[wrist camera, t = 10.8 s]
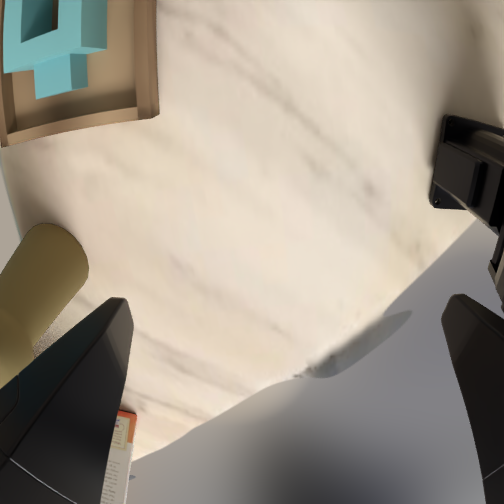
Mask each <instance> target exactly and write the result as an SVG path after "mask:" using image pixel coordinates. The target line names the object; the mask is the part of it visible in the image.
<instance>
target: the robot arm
mask: <svg viewBox="0 0 504 504" xmlns="http://www.w3.org/2000/svg"><path fill="white" fill-rule="evenodd" d="M450 119H451V124H450V125H449V120H450ZM503 135H504V129H502V128H498V127H495V126H492V125H488V124H485V123H482V122H478V121H474V120H471V119H467V118H463V117H459V116H455V115H451V114H446V115H445V116H444V117H443V120H442V129H441V136H440V143H439V147H438V154H437V160H436V166H435V171H434V177H433V185H432V190H431V194H430V200H429V202H430V204H431V205H432V206H433V207H434V208H439V209H458V210H468V211H469V212H470V213H472V214H473V215H474V216H475V217H476V218H478V219H479V220H480V221H481V222H483V223H484V224H485V225H486V226H487V227H488V228H490V229H491V230H492V231H493V232H494V233H495V234H496V235H498V236H499V238H498V241H497V244H496V248H495V251H494V254H493V258H492V260H490V263H489V266H488V270H489V273H490V275H491V277H492V279H493V282H494V284H495V286H496V290H497V292H498V294H499V296H500V299H501V301H502V305H501V309H502V311H503V313H504V136H503ZM437 198H438V201H437V202H435V201H436V199H437ZM441 322H442V326H443V330H444V334H445V337H446V341H447V345H448V349H449V352H450V357H451V360H452V364H453V368H454V371H455V374H456V377H457V380H458V383H459V386H460V390H461V393H462V396H463V399H464V403H465V406H466V410H467V413H468V417H469V421H470V424H471V429H472V432H473V437H474V441H475V445H476V449H477V454H478V459H479V464H480V469H481V474H482V479H483V487H484V494H485V501H486V504H504V319H503V318H501V317H500V316H498V315H496V314H495V313H493V312H492V311H490V310H489V309H487V308H486V307H484V306H483V305H481V304H480V303H478V302H476V301H475V300H473V299H471V298H470V297H468V296H467V295H465V294H454V295H452V296H451V297H450V299H449V301H448V303H447V305H446V308H445V310H444V312H443V314H442V318H441ZM133 329H134V324H133V319H132V315H131V312H130V308H129V305H128V302H127V300H126V299H125V298H119V297H111V298H109V299H108V300H107V301H105V302H104V303H103V304H102V305H100V306H99V307H98V308H97V309H95V310H94V311H93V312H92V313H90V314H89V315H88V316H87V317H85V318H84V319H83V320H82V321H80V322H79V323H78V324H77V325H75V326H74V327H73V328H72V329H70V330H69V331H68V332H67V333H66V334H64V335H63V336H62V337H61V338H59V339H58V340H57V341H56V342H55V343H53V344H52V345H51V346H50V347H49V348H47V349H46V350H45V351H44V352H43V353H41V354H40V355H39V356H38V357H37V358H36V359H34V360H33V361H32V362H31V363H30V364H29V365H27V366H26V367H25V368H24V369H23V370H22V371H20V372H19V374H18V375H16V376H15V377H13V378H12V379H11V380H10V381H9V382H8V383H7V384H5V385H4V386H3V387H2V388H1V389H0V504H100V502H101V496H102V490H103V484H104V478H105V472H106V467H107V462H108V457H109V452H110V447H111V442H112V437H113V432H114V428H115V423H116V419H117V415H118V410H119V406H120V402H121V398H122V394H123V390H124V385H125V381H126V375H127V369H128V362H129V355H130V348H131V342H132V336H133Z"/></svg>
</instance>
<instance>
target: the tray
mask: <svg viewBox="0 0 504 504" xmlns="http://www.w3.org/2000/svg"><path fill="white" fill-rule="evenodd" d="M58 8H59V0H53V6H52V31H54V30H57V29H58ZM4 12H5V0H0V142H1V147H2V148H3V147H6V146H10V145H13V144H17V143H21V142H24V141H28V140H32V139H36V138H40V137H45V136H49V135H53V134H58V133H63V132H68V131H72V130H78V129H83V128H88V127H94V126H100V125H106V124H113V123H120V122H127V121H134V120H142V119H151V118H153V117H155V116H157V115H159V98H158V78H157V48H156V0H107V50H102V51H98V52H94V53H90V54H87V77H88V87H86V88H81V89H77V90H73V91H69V92H65V93H61V94H57V95H53V96H49V97H45V98H40V99H36V94H35V81H34V70H27V71H19V72H11V73H4V66H3V31H4Z"/></svg>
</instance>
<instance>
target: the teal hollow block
mask: <svg viewBox="0 0 504 504" xmlns="http://www.w3.org/2000/svg"><path fill="white" fill-rule="evenodd" d="M52 6H53V0H5V12H4V31H3V66H4V73H11V72H19V71H27V70H34V81H35V94H36V99H40V98H45V97H49V96H53V95H57V94H61V93H65V92H69V91H73V90H77V89H81V88H86V87H88V77H87V54H90V53H94V52H98V51H102V50H107V0H59V8H58V29H57V30H54V31H52Z"/></svg>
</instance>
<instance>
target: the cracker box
mask: <svg viewBox="0 0 504 504" xmlns="http://www.w3.org/2000/svg"><path fill="white" fill-rule="evenodd" d="M136 422H137V415H135V414H132V413H128V412H124V411H120V410H118V415H117V419H116V423H115V428H114V432H113V437H112V442H111V447H110V452H109V457H108V462H107V467H106V472H105V478H104V484H103V490H102V496H101V502H100V504H126V496H127V489H128V481H129V474H130V467H131V460H132V454H133V448H134V441H135V434H136Z"/></svg>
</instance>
